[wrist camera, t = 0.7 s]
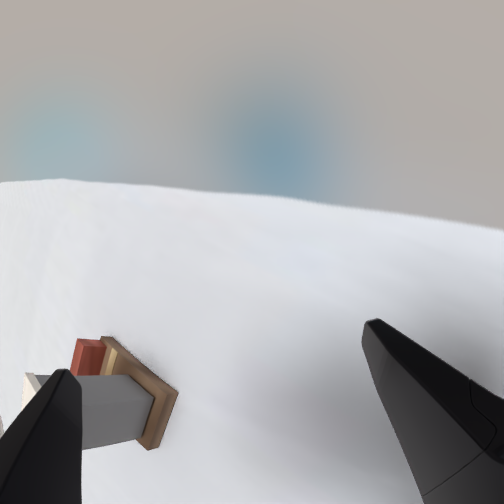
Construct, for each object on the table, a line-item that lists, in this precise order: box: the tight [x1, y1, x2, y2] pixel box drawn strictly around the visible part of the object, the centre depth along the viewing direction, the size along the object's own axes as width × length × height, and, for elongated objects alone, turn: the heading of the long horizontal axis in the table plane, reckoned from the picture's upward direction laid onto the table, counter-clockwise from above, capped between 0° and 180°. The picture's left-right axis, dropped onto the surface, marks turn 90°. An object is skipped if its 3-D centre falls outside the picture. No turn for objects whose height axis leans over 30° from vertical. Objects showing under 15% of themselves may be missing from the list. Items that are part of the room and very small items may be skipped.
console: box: [70, 336, 178, 451], centre depth 26 cm, size 11×7×4 cm, turn 66°
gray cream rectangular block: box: [21, 373, 154, 450], centre depth 20 cm, size 4×5×11 cm
